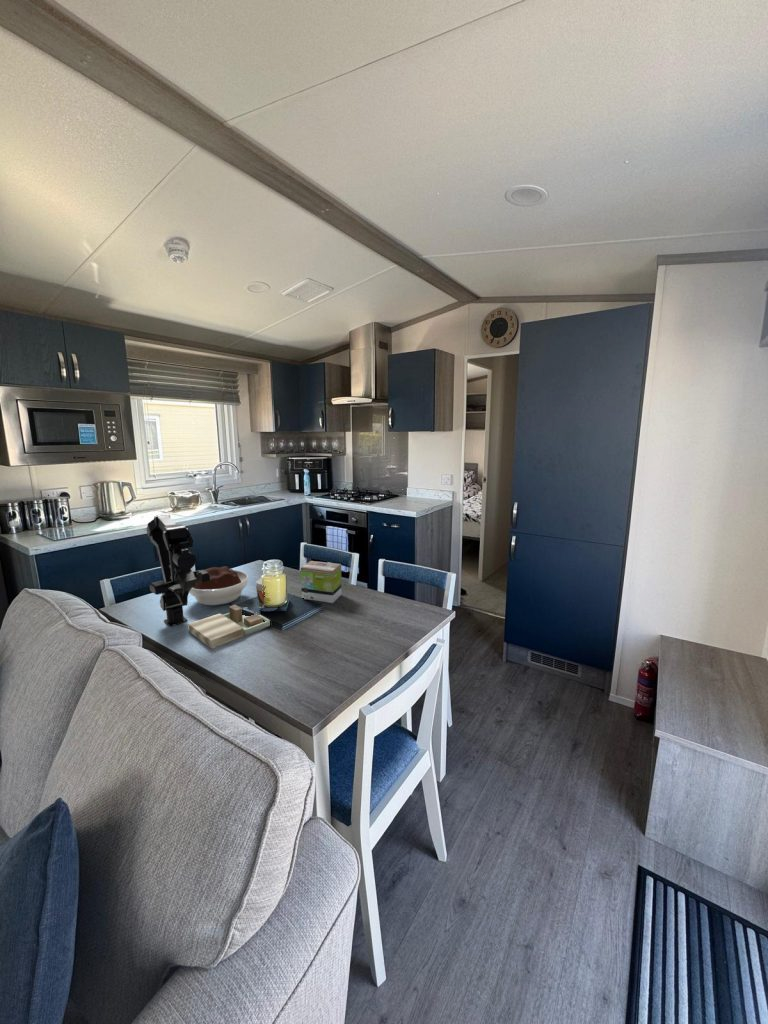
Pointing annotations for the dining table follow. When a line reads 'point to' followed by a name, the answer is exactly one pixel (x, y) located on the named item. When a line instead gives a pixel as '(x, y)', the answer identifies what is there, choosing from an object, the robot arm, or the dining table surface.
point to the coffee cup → (260, 592)
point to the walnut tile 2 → (253, 620)
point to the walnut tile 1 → (235, 613)
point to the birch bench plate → (216, 630)
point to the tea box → (321, 581)
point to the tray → (254, 628)
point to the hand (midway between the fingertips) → (183, 604)
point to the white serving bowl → (220, 586)
